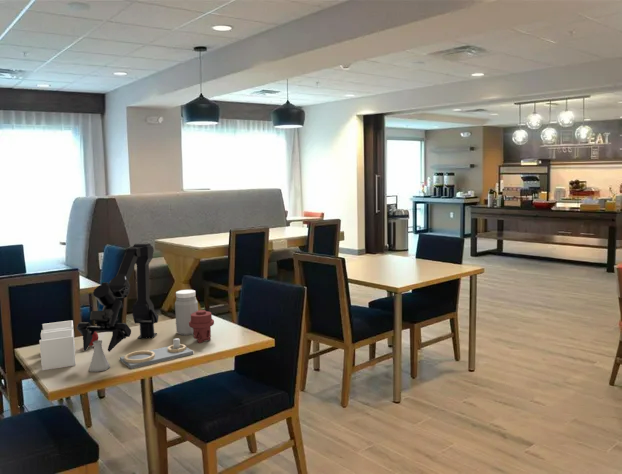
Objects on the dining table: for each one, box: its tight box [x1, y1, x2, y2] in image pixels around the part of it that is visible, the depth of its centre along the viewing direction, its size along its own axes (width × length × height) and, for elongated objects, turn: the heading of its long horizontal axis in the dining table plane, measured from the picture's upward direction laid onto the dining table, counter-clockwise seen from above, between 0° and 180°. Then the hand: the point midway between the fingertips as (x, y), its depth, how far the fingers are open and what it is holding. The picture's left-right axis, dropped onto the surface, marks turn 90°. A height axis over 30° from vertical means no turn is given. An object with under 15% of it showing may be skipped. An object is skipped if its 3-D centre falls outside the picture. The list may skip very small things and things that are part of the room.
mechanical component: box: [189, 309, 215, 344], centre depth 230 cm, size 12×10×10 cm
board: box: [119, 338, 194, 370], centre depth 212 cm, size 24×12×5 cm, turn 127°
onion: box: [88, 332, 99, 347], centre depth 227 cm, size 6×6×8 cm
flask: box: [88, 339, 111, 373], centre depth 201 cm, size 7×7×10 cm
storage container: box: [38, 320, 76, 371], centre depth 214 cm, size 25×11×11 cm, turn 23°
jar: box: [174, 289, 199, 336], centre depth 242 cm, size 10×10×18 cm
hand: (96, 350), depth 199 cm, fingers open, 9 cm apart
